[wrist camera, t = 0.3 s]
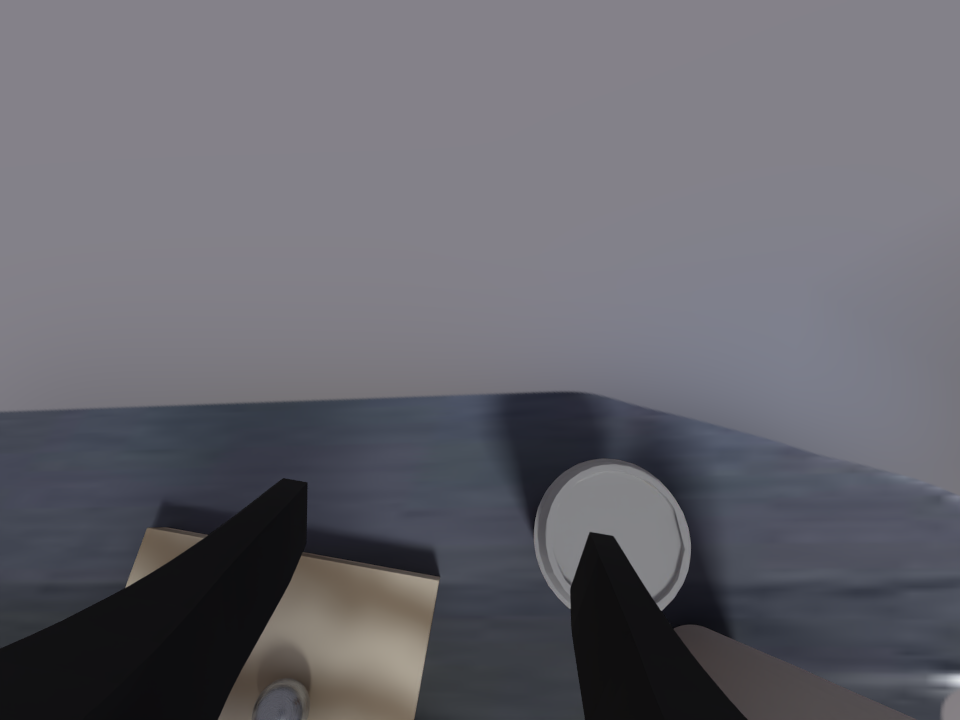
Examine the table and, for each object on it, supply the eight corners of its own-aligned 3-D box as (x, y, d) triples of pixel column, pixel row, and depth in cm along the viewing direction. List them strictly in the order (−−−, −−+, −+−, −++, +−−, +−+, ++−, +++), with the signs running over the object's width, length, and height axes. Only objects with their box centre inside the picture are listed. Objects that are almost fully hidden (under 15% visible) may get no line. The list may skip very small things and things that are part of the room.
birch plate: (387, 865, 33) (382, 892, 30) (67, 805, 33) (37, 827, 30) (440, 576, 38) (438, 580, 36) (166, 527, 38) (147, 527, 36)
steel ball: (308, 735, 33) (291, 760, 29) (257, 726, 33) (234, 749, 29) (322, 676, 34) (307, 693, 30) (272, 666, 34) (252, 683, 30)
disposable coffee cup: (611, 617, 38) (677, 659, 27) (497, 568, 39) (513, 589, 27) (643, 499, 41) (715, 491, 29) (537, 456, 42) (567, 432, 30)
